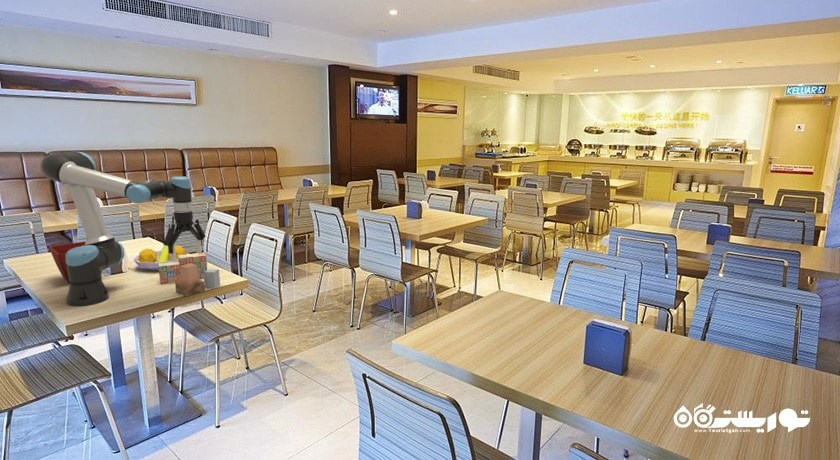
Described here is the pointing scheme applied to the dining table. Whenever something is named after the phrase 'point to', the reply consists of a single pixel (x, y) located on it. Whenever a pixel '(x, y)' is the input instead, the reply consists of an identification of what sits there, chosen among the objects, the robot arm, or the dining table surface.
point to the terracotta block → (189, 273)
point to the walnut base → (190, 288)
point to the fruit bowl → (156, 257)
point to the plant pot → (63, 256)
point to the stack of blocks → (172, 269)
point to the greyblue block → (211, 278)
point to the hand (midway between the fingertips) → (186, 256)
